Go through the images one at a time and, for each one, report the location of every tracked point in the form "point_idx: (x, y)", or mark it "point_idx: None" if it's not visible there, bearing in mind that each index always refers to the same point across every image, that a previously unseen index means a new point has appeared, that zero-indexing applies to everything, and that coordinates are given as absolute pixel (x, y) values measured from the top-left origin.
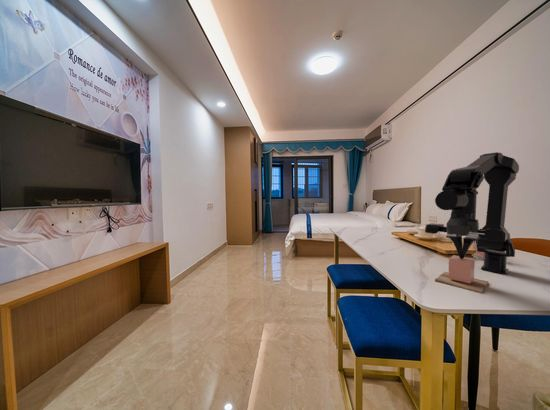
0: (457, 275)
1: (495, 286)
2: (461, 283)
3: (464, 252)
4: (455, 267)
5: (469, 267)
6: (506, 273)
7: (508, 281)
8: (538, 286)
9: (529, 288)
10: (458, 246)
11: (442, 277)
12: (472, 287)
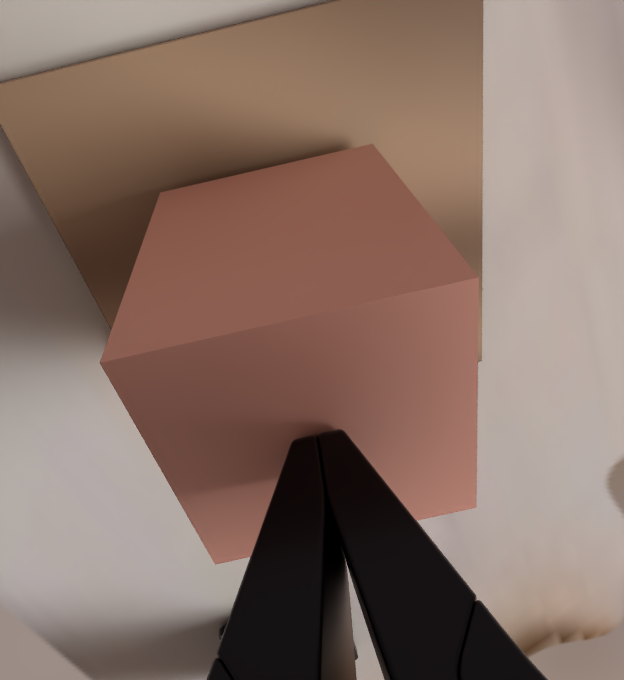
0: (288, 189)
1: (100, 399)
2: (234, 154)
3: (268, 551)
4: (329, 227)
5: (141, 296)
6: (219, 633)
7: (141, 548)
8: (26, 595)
9: (9, 536)
10: (429, 673)
11: (441, 165)
12: (108, 133)
